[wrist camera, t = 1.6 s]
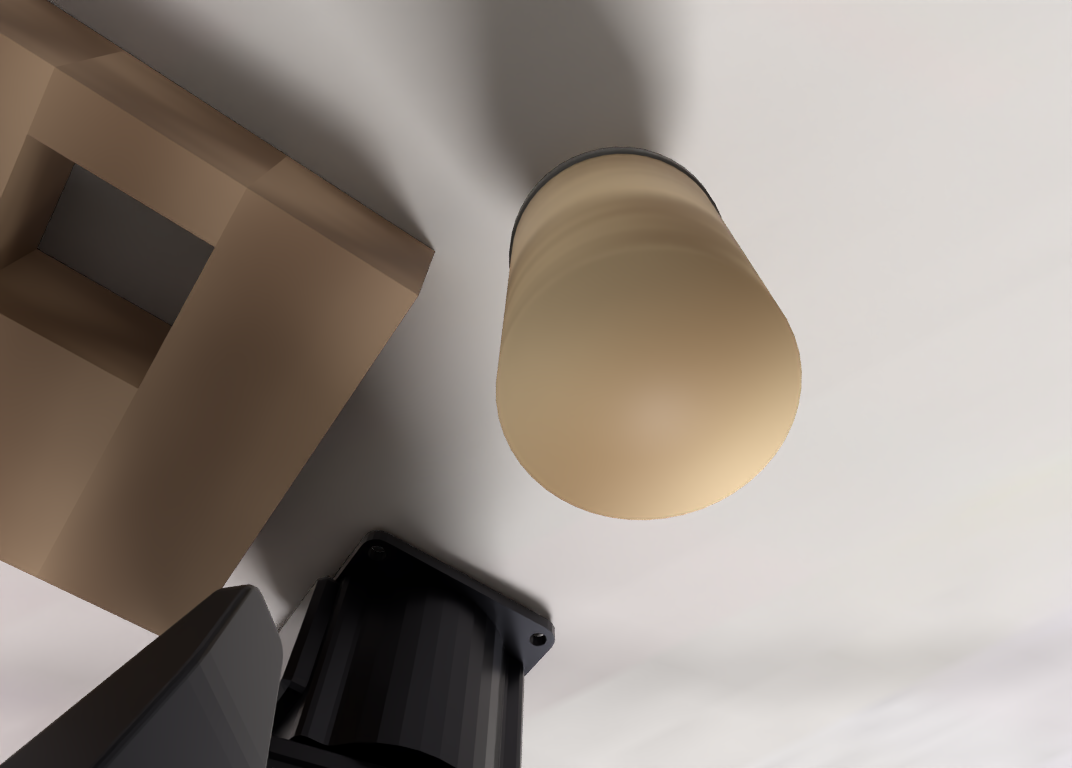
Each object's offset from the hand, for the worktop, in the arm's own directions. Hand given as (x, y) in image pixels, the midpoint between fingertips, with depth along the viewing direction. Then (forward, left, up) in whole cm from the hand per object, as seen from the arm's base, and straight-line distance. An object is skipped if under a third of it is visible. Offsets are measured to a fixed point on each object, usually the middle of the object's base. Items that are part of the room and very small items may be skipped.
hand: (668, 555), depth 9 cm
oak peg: (0, 0, -13) cm, 13 cm away
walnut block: (+9, +9, -13) cm, 18 cm away
